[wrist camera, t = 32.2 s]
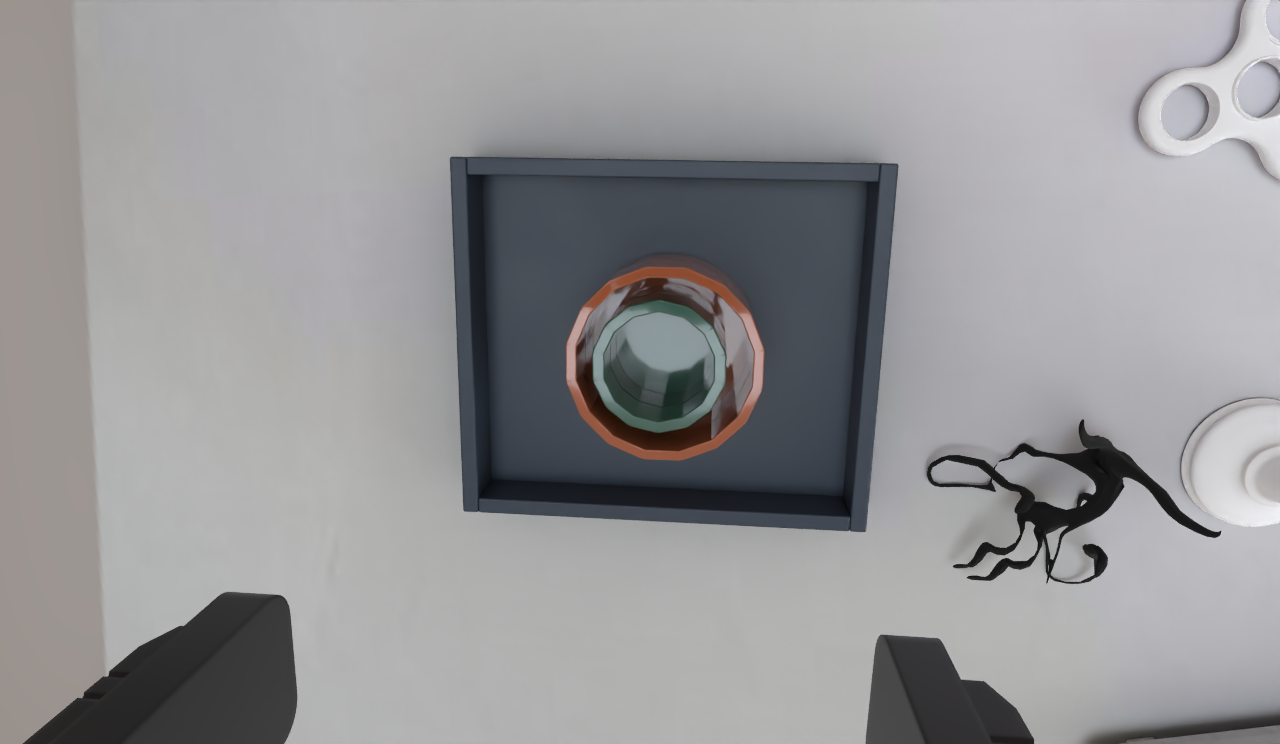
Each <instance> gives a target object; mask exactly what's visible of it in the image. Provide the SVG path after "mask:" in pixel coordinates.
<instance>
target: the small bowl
mask: <svg viewBox="0 0 1280 744" xmlns="http://www.w3.org/2000/svg"><path fill="white" fill-rule="evenodd" d="M592 379H593V383H594V385H595V387H596V389H597V391H598V393H599V395H600V397H601V399H602V401H603V403H604V405H605V406H606V408H607V409H608V410H610V411H611V412H612V413H613V414H615V415H616V416H617V417H618V418H620V419H621V420H622V421H624V422H625V423H626V424H627V425H630V426H631V427H635V428H640V429H644V430H648V431H652V432H656V433H662V432H667V431H672V430H678V429H683V428H687V427H689V426H691V425H692V424H693V423H695V422H696V421H697V420H699V419H700V418H702V417H703V416H704V415H706V414H707V413H709V412H710V411H711V410H712V409H713V407H714V405H715V403H716V401H717V399H718V397H719V396H720V394H721V392H722V390H723V388H724V386H725V383H726V340H725V332H724V330H723V328H722V325H721V322H720V320H719V317H718V315H717V314H716V312H715V311H714V309H713V308H712V307H711V306H710V304H709V303H708V302H707V301H706V300H705V299H703V298H702V297H701V296H699V295H698V294H696V293H695V292H693V291H691V290H689V289H686V288H683V287H679V286H674V285H657V286H651V287H648V288H645V289H642V290H640V291H638V292H636V293H635V294H633V295H632V296H630V297H629V298H628V299H626V300H625V301H624V302H623V303H622V304H621V305H620V306H618V308H617V309H616V310H615V312H614V313H613V314H612V316H611V317H610V319H609V320H608V321H607V323H606V324H605V326H604V328H603V330H602V332H601V334H600V336H599V338H598V340H597V342H596V344H595V346H594V348H593V352H592Z"/></svg>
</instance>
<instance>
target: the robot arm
mask: <svg viewBox="0 0 1280 744" xmlns="http://www.w3.org/2000/svg"><path fill="white" fill-rule="evenodd" d="M296 707H297V686H296V674H295V663H294V651H293V640H292V628H291V616H290V609H289V605H288V603H287V601H286V599H285V598H284V597H283V596H281V595H270V594H255V593H239V592H225V593H223V594H221V595H220V596H218V597H217V598H216V599H215V600H214V601H212V602H211V603H210V604H209V605H208V606H207V607H205V608H204V609H203V610H202V611H201V612H200V613H199V614H197V615H196V616H195V617H194V618H193V619H192V620H190V621H189V622H188V623H187V624H186V625H185V626H179V627H177V628H175V629H173V630H171V631H169V632H167V633H165V634H163V635H161V636H159V637H157V638H155V639H153V640H151V641H149V642H147V643H145V644H143V645H141V646H139V647H138V648H137V649H136V650H134V651H133V652H132V653H131V654H130V655H128V656H127V657H126V658H125V659H124V660H122V661H121V662H120V663H119V664H118V665H116V666H115V667H114V668H113V669H112V670H111V671H109V676H108V677H102V678H101V679H100V680H99V681H97V682H96V683H95V684H94V685H93V686H91V687H90V688H89V689H88V690H87V691H85V692H84V696H83V698H77V699H76V700H75V701H73V702H72V703H71V704H70V705H69V706H67V707H66V708H65V709H64V710H63V711H61V712H60V713H59V714H58V715H57V716H55V717H54V718H53V719H52V720H51V721H49V722H48V723H47V724H46V725H45V726H43V727H42V728H41V729H40V730H39V731H37V732H36V733H35V734H34V735H33V736H31V737H30V738H29V739H28V740H27V741H25V742H24V743H23V744H284V743H285V741H286V739H287V737H288V735H289V733H290V730H291V728H292V725H293V721H294V718H295V713H296ZM866 744H1034V739H1033V737H1032V735H1031V733H1030V732H1029V730H1028V728H1027V726H1026V725H1025V723H1024V721H1023V719H1022V718H1021V716H1020V714H1019V713H1018V711H1017V709H1016V708H1015V707H1014V706H1013V705H1011V704H1010V703H1009V702H1008V701H1007V700H1005V699H1004V698H1003V697H1002V696H1001V695H1000V694H998V693H997V692H996V691H995V690H994V689H993V688H991V687H990V686H989V685H988V684H987V683H986V682H984V681H971V680H961V679H960V677H959V675H958V673H957V671H956V669H955V667H954V665H953V663H952V661H951V659H950V657H949V655H948V653H947V651H946V649H945V647H944V645H943V643H942V642H941V640H940V639H938V638H925V637H909V636H894V635H880V636H879V637H878V640H877V643H876V648H875V655H874V665H873V674H872V684H871V694H870V704H869V713H868V723H867V733H866Z"/></svg>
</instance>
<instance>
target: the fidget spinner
mask: <svg viewBox="0 0 1280 744" xmlns="http://www.w3.org/2000/svg"><path fill="white" fill-rule="evenodd" d="M1270 1H1271V0H1246V1H1245V4H1244V6H1243V9H1242V12H1241V18H1240V31H1239V35H1238V38H1237V40H1236V43H1235V45H1234V46H1233V48H1232V49H1231V51H1230V52H1229V53H1228V54H1227V55H1226V56H1225V57H1224V58H1223V59H1221V60H1220V61H1218V62H1217V63H1215V64H1213V65H1211V66H1208V67H1201V68H1198V67H1190V68H1183V69H1179V70H1176V71H1173V72H1171V73H1169V74H1167V75H1165V76H1163V77H1162V78H1160V79H1159V80H1158V81H1156V82H1155V83H1154V84H1153V85H1152V86H1151V87H1150V89H1149V90H1148V91H1147V93H1146V94H1145V96H1144V98H1143V100H1142V103H1141V105H1140V109H1139V114H1138V124H1139V129H1140V132H1141V135H1142V137H1143V139H1144V140H1145V142H1146V143H1147V144H1148V145H1149V146H1150V147H1151V148H1152V149H1154V150H1155V151H1157V152H1159V153H1161V154H1164V155H1168V156H1188V155H1193V154H1196V153H1199V152H1201V151H1203V150H1205V149H1207V148H1208V147H1210V146H1211V145H1213V144H1214V143H1216V142H1218V141H1221V140H1224V139H1228V138H1236V139H1241V140H1244V141H1246V142H1248V143H1249V144H1251V145H1252V146H1253V147H1254V148H1255V149H1256V151H1257V152H1258V154H1259V157H1260V159H1261V162H1262V164H1263V166H1264V167H1265V169H1266V170H1267V171H1268V172H1269V173H1270V174H1271V175H1272V176H1274V177H1275V178H1277V179H1279V180H1280V100H1279V101H1278V103H1277V104H1276V106H1275V107H1274V108H1273V109H1272V110H1271V111H1270V112H1269V113H1267V114H1266V115H1264V116H1262V117H1259V118H1255V117H1252V116H1250V115H1248V114H1247V113H1245V112H1244V111H1243V110H1242V108H1241V107H1240V105H1239V102H1238V99H1237V89H1238V84H1239V82H1240V79H1241V78H1242V76H1243V74H1244V73H1245V72H1246V71H1247V70H1248V69H1249V68H1250V67H1251V66H1252V65H1254V64H1255V63H1257V62H1259V61H1262V62H1267V63H1269V64H1271V65H1273V66H1274V67H1275V68H1277V70H1278V71H1279V72H1280V41H1278V40H1277V39H1275V38H1274V37H1273V36H1272V35H1271V34H1270V32H1269V31H1268V29H1267V26H1266V19H1265V17H1266V10H1267V7H1268V5H1269V2H1270ZM1184 84H1187V85H1192V86H1195V87H1197V88H1199V89H1200V90H1201V91H1202V92H1203V93H1204V94H1205V96H1206V98H1207V100H1208V103H1209V114H1208V118H1207V120H1206V123H1205V124H1204V126H1203V127H1202V129H1201V130H1200V131H1199V132H1198V133H1197V134H1195V135H1194V136H1193V137H1191V138H1189V139H1187V140H1183V141H1181V140H1177V139H1174V138H1172V137H1171V136H1169V135H1168V134H1167V133H1166V131H1165V130H1164V128H1163V126H1162V123H1161V109H1162V106H1163V103H1164V101H1165V100H1166V98H1167V97H1168V95H1169V94H1170V93H1171V92H1172V91H1174V90H1175V89H1176V88H1178V87H1179V86H1181V85H1184Z"/></svg>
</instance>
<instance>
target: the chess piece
mask: <svg viewBox="0 0 1280 744" xmlns="http://www.w3.org/2000/svg"><path fill="white" fill-rule="evenodd" d="M1181 473H1182V480H1183V484H1184V487H1185V489H1186V491H1187V493H1188V495H1189V496H1190V498H1191V499H1192V501H1193V502H1194V503H1195V504H1196V505H1197V506H1198V507H1199V508H1200V509H1202V510H1203V511H1204V512H1206V513H1208V514H1209V515H1211V516H1213V517H1216V518H1218V519H1221V520H1223V521H1225V522H1228V523H1230V524H1234V525H1238V526H1245V527H1261V526H1268V525H1273V524H1276V523H1279V522H1280V400H1275V399H1267V398H1255V399H1247V400H1242V401H1238V402H1235V403H1232V404H1230V405H1227V406H1225V407H1223V408H1221V409H1219V410H1218V411H1216V412H1215V413H1213V414H1212V415H1210V416H1209V417H1208V418H1207V419H1205V420H1204V421H1203V422H1202V423H1201V424H1200V425H1199V426H1198V427H1197V429H1196V430H1195V431H1194V433H1193V434H1192V436H1191V437H1190V439H1189V441H1188V443H1187V445H1186V447H1185V450H1184V453H1183V457H1182V464H1181Z"/></svg>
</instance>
